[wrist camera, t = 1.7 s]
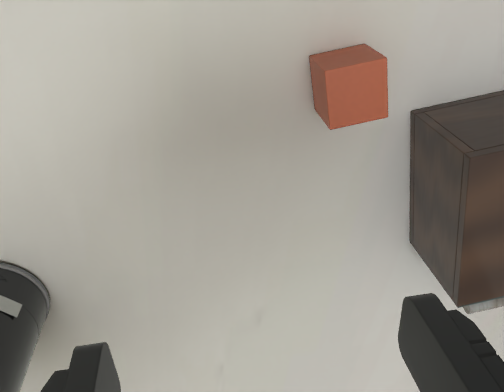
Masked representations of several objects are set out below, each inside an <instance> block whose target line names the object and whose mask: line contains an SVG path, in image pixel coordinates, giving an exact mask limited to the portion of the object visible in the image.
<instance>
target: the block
mask: <svg viewBox="0 0 504 392" xmlns="http://www.w3.org/2000/svg"><path fill="white" fill-rule="evenodd" d="M309 60H310V69H311V78H312V88H313V97H314V106H315V110H316V112H317V113H318V114H319V116H320V117H321V118H322V120H323V121H324V122H325V124H326V125H327V126H328V128H329V129H330V130H332V129H336V128H341V127H345V126H350V125H354V124H359V123H364V122H368V121H373V120H377V119H382V118H386V117H388V88H387V58H386V57H385V56H383V55H382V54H380V53H379V52H377V51H375V50H374V49H372V48H371V47H369V46H368V45H366V44H361V45H356V46H352V47H347V48H342V49H338V50H333V51H328V52H324V53H319V54H314V55H310V56H309Z"/></svg>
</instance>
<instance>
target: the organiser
mask: <svg viewBox="0 0 504 392" xmlns="http://www.w3.org/2000/svg"><path fill="white" fill-rule="evenodd" d="M410 243H411V244H412V245H413V247H414V248H415V249H416V251H417V252H418V254H419V255H420V256H421V258H422V259H423V260H424V262H425V263H426V265H427V266H428V267H429V269H430V270H431V271H432V273H433V274H434V276H435V277H436V278H437V280H438V281H439V282H440V284H441V285H442V287H443V288H444V289H445V291H446V292H447V293H448V295H449V296H450V298H451V299H452V300H453V302H454V303H455V304H456V306H457V307H459V306H463V305H468V304H472V303H476V302H481V301H485V300H489V299H494V298H498V297H502V296H504V91H500V92H496V93H491V94H487V95H482V96H477V97H473V98H468V99H464V100H459V101H455V102H450V103H445V104H441V105H436V106H432V107H427V108H423V109H418V110H413V111H411V170H410Z"/></svg>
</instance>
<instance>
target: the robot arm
mask: <svg viewBox="0 0 504 392" xmlns="http://www.w3.org/2000/svg"><path fill="white" fill-rule="evenodd" d="M49 309H50V298H49V295H48V292H47V290H46V288H45V287H44V285H43V284H42V283H41V282H40V281H39V280H38V279H37V278H36V277H35V276H34V275H32V274H31V273H29V272H27V271H26V270H24V269H22V268H19V267H17V266H14V265H10V264H6V263H1V262H0V392H20V390H21V387H22V384H23V381H24V378H25V375H26V372H27V369H28V366H29V364H30V361H31V358H32V355H33V352H34V349H35V346H36V344H37V341H38V338H39V335H40V332H41V329H42V327H43V324H44V322H45V320H46V318H47V315H48V312H49ZM398 343H399V348H400V352H401V355H402V357H403V359H404V361H405V363H406V365H407V367H408V369H409V371H410V373H411V375H412V377H413V379H414V380H415V382H416V384H417V386H418V388H419V390H420V392H504V362H503V360H502V359H501V358H500V356H499V355H497V354H496V351H495V350H494V348H493V347H492V346H491V344H490V343H489V342H487V341H486V338H485V337H484V335H483V334H482V333H481V331H480V330H479V329H478V327H477V326H476V325H475V323H474V322H473V321H471V320H470V319H468V318H467V317H466V316H464V315H463V314H462V313H460V312H459V311H457V310H450V311H447V310H446V308H445V307H444V306H443V304H442V303H441V301H440V300H439V298H438V297H437V296H436V295H435V294H433V293H429V294H423V295H416V296H409V297H405V298H404V300H403V305H402V312H401V319H400V326H399V333H398ZM41 392H121V388H120V382H119V378H118V375H117V371H116V368H115V365H114V362H113V359H112V356H111V352H110V349H109V346H108V344H107V343H106V342H103V343H96V344H89V345H82V346H76V347H75V349H74V351H73V354H72V358H71V362H70V366H69V369H67V370H60V371H55V372H54V373H53V375H52V376H51V377H50V379H49V380H48V382H47V383H46V384H45V386H44V387H43V389H42V390H41Z"/></svg>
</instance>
